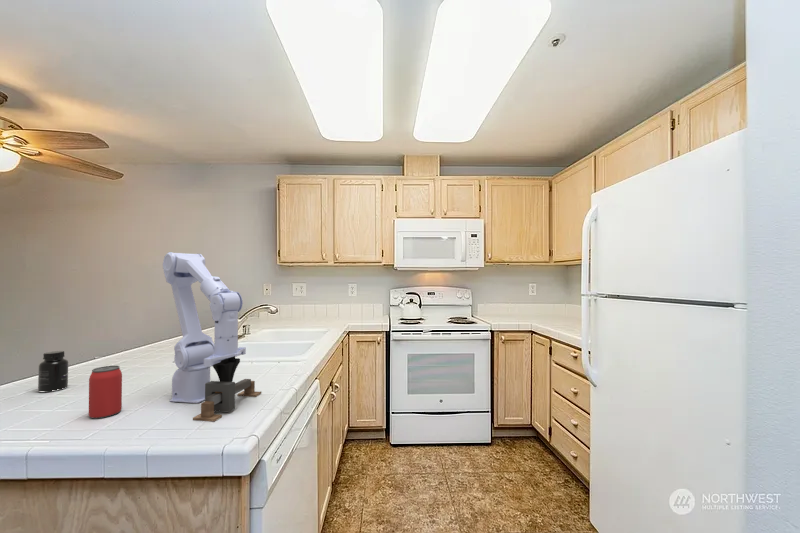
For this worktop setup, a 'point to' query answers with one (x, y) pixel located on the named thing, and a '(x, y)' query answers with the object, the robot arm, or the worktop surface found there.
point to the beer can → (105, 391)
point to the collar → (227, 394)
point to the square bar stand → (215, 398)
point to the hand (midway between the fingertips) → (226, 386)
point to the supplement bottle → (53, 372)
